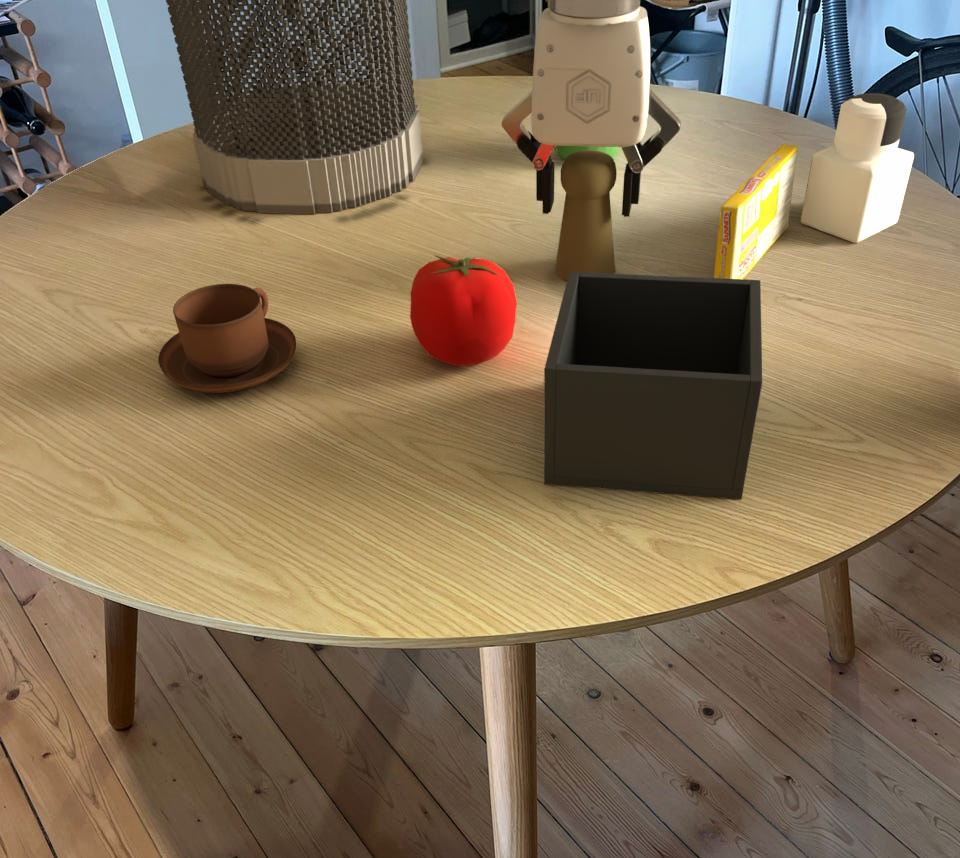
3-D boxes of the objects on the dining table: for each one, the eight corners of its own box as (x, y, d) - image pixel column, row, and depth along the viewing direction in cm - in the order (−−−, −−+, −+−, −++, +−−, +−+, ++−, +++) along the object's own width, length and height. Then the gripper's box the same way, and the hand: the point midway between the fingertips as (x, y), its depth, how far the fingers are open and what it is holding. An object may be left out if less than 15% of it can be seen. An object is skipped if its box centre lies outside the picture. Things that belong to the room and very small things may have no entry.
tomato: (472, 394, 86) (467, 300, 80) (386, 356, 91) (375, 265, 85) (541, 348, 91) (541, 257, 85) (455, 315, 96) (450, 227, 90)
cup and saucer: (192, 332, 96) (175, 268, 91) (315, 337, 94) (304, 273, 89) (142, 401, 87) (121, 336, 83) (276, 409, 86) (262, 342, 81)
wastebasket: (436, 131, 129) (416, -167, 108) (397, 215, 112) (364, -121, 91) (244, 130, 133) (189, -161, 111) (177, 211, 115) (96, -115, 94)
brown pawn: (626, 263, 102) (633, 148, 94) (599, 289, 98) (604, 171, 90) (571, 251, 104) (574, 138, 96) (543, 276, 101) (544, 161, 93)
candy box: (768, 225, 107) (781, 142, 101) (787, 229, 106) (802, 145, 100) (708, 291, 97) (719, 203, 91) (730, 295, 96) (742, 207, 90)
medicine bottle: (841, 203, 110) (866, 82, 101) (898, 223, 106) (930, 98, 97) (798, 223, 107) (821, 100, 98) (856, 245, 103) (884, 118, 94)
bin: (742, 392, 85) (760, 279, 78) (741, 499, 75) (762, 381, 68) (567, 381, 87) (569, 271, 80) (543, 484, 77) (544, 368, 70)
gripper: (483, 5, 83) (490, 223, 96) (700, 6, 80) (678, 230, 93) (498, -19, 88) (503, 190, 101) (703, -19, 85) (681, 196, 98)
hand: (587, 207), depth 97 cm, fingers open, 6 cm apart
